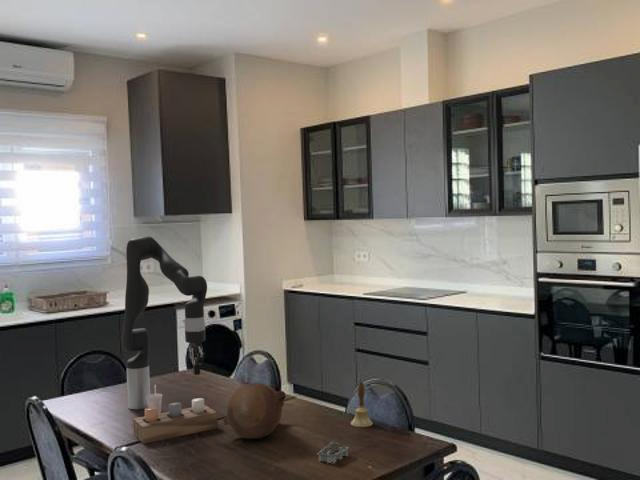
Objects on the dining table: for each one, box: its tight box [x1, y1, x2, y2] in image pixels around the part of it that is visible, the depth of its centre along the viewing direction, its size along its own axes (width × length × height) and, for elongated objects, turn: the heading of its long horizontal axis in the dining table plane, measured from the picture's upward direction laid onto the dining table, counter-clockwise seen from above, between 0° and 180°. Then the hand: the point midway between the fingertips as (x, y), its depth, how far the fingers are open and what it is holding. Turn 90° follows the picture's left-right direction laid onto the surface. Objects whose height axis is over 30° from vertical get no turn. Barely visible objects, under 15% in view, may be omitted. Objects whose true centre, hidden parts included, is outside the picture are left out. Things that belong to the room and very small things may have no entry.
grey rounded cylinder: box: [168, 401, 183, 418], centre depth 237 cm, size 5×5×6 cm
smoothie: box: [146, 384, 163, 414], centre depth 252 cm, size 6×6×14 cm
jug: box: [222, 382, 287, 440], centre depth 233 cm, size 20×20×30 cm
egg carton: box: [316, 440, 349, 464], centre depth 206 cm, size 10×7×4 cm
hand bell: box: [350, 381, 373, 428], centre depth 239 cm, size 8×8×16 cm
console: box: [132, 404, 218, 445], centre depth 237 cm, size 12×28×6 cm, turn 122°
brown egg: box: [144, 407, 158, 423], centre depth 233 cm, size 5×5×6 cm
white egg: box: [191, 397, 205, 414], centre depth 242 cm, size 5×5×6 cm
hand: (196, 374), depth 242 cm, fingers closed
